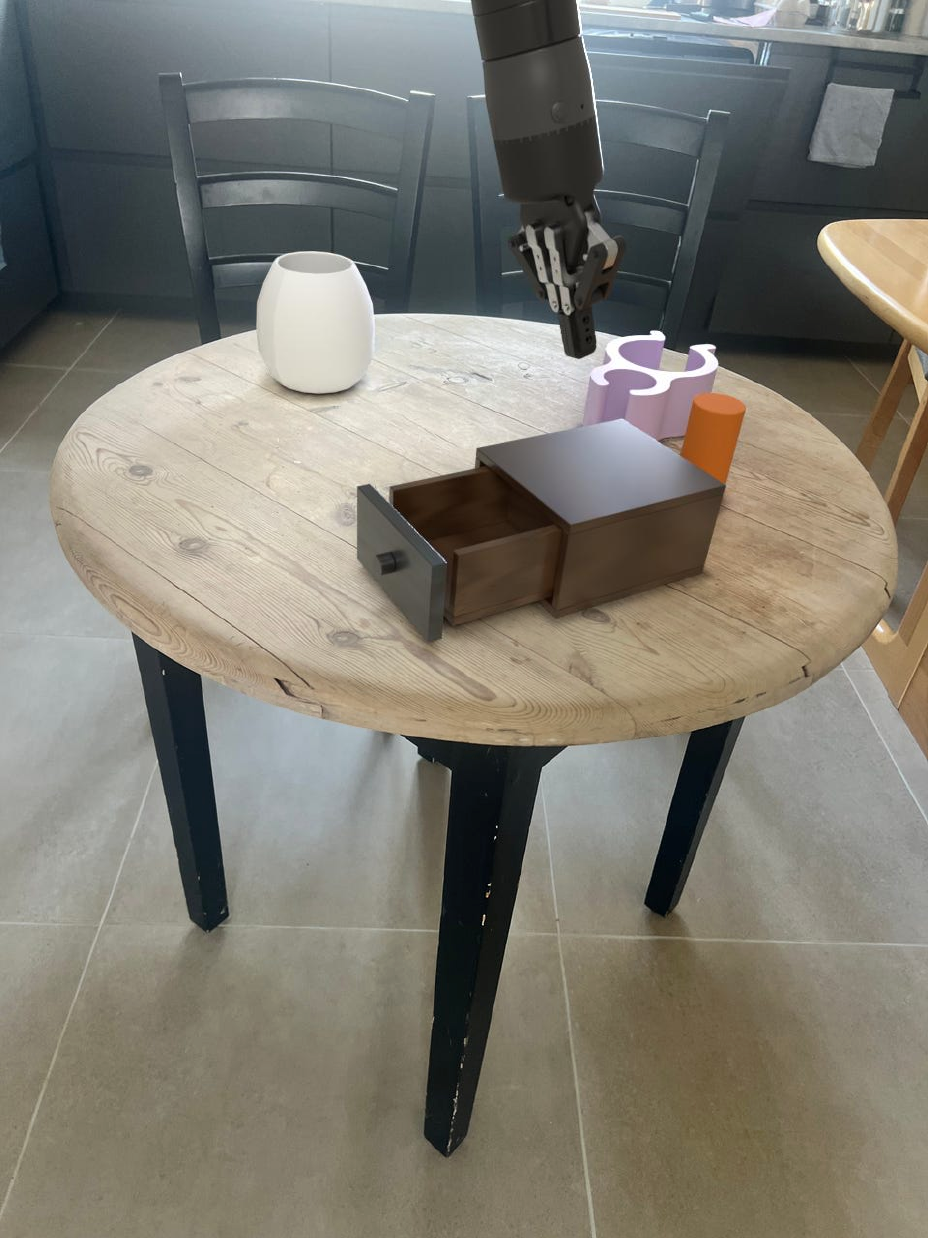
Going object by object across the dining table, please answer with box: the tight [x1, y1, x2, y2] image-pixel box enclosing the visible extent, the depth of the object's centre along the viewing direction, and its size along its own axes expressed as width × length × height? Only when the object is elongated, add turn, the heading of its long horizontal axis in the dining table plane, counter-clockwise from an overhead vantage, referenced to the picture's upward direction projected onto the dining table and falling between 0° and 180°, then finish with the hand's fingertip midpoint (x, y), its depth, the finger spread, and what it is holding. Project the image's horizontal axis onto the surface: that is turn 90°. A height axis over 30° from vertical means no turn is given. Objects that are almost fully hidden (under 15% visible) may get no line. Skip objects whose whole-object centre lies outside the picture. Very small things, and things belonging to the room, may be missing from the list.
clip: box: [581, 330, 719, 442], centre depth 101 cm, size 20×12×7 cm, turn 149°
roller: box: [679, 392, 747, 485], centre depth 86 cm, size 5×5×10 cm
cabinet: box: [474, 419, 727, 619], centre depth 77 cm, size 16×14×9 cm
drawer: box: [356, 466, 564, 643], centre depth 72 cm, size 16×12×7 cm
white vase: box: [256, 250, 376, 394], centre depth 102 cm, size 13×13×14 cm
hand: (581, 353), depth 74 cm, fingers closed
